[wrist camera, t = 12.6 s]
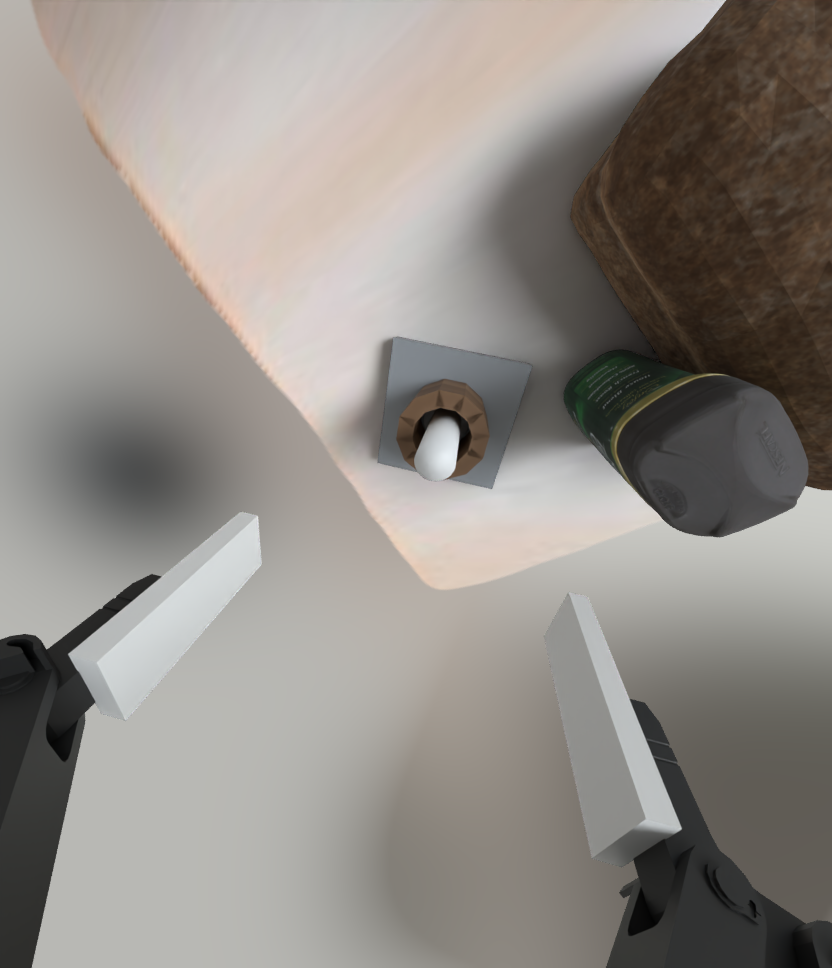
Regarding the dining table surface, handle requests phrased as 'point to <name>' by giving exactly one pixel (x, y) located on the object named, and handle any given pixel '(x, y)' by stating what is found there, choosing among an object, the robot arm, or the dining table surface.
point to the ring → (449, 398)
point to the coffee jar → (690, 441)
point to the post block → (444, 427)
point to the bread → (731, 210)
